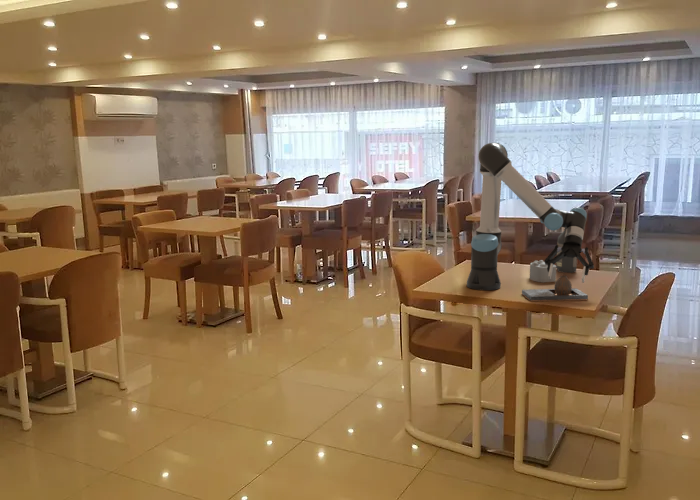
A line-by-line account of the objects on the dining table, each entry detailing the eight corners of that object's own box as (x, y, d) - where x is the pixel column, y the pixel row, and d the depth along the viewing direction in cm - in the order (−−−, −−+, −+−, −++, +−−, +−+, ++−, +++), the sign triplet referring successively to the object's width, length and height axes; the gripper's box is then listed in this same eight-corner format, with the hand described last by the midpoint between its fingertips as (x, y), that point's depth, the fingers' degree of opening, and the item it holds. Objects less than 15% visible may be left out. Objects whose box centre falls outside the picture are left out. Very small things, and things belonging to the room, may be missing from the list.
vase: (571, 294, 266) (572, 274, 265) (570, 298, 260) (571, 277, 258) (555, 293, 269) (556, 273, 267) (553, 296, 263) (554, 276, 261)
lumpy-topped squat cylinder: (539, 282, 290) (540, 264, 289) (524, 277, 303) (524, 259, 301) (558, 281, 293) (559, 263, 292) (543, 275, 305) (543, 258, 304)
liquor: (574, 269, 319) (577, 211, 313) (576, 272, 310) (579, 213, 305) (555, 268, 321) (558, 210, 315) (557, 272, 312) (560, 213, 307)
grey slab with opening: (530, 301, 258) (531, 296, 257) (521, 294, 270) (522, 289, 269) (587, 299, 259) (587, 295, 258) (576, 292, 270) (576, 288, 270)
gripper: (604, 245, 271) (597, 286, 261) (545, 242, 283) (537, 281, 273) (603, 235, 265) (596, 277, 255) (543, 232, 277) (534, 271, 267)
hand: (565, 279), depth 264 cm, fingers open, 13 cm apart
